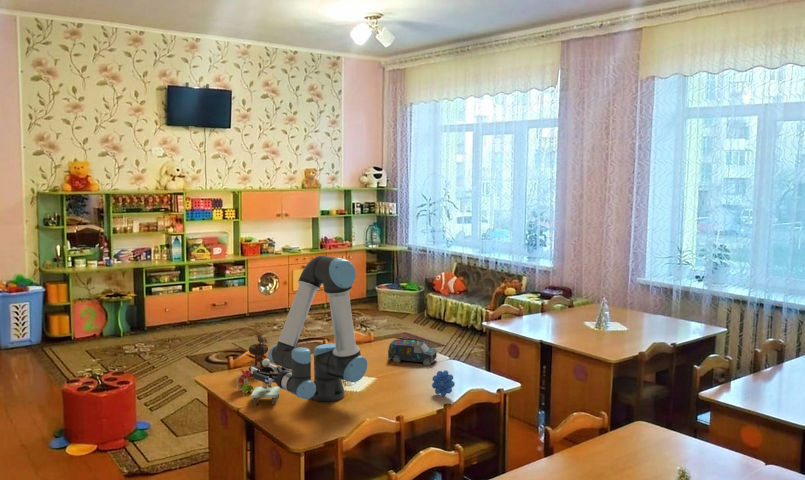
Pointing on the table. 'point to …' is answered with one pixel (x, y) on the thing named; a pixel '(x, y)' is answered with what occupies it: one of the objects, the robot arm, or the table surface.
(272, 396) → the miniature table
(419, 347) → the toy van
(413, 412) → the table surface
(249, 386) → the flower ornament
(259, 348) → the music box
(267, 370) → the grandmother figurine
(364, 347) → the table surface
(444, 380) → the blue bumpy round piece
